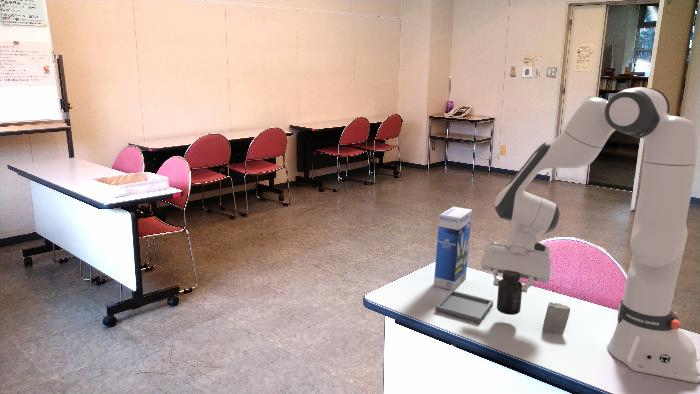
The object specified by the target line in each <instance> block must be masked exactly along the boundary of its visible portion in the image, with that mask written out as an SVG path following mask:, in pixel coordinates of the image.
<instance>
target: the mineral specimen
mask: <svg viewBox="0 0 700 394" xmlns="http://www.w3.org/2000/svg"><path fill="white" fill-rule="evenodd" d="M570 313H571V308H570V307H569V306H567V305H565V304H562V303H559V302H558V303H556V302H555V303H554V302H549V303H548V306H547V308H546V312H545V316H544V319H543V325H542V333H543V334H548V335H557V336H563V335H564V332H565V330H566V326H567V323H568V321H569V317H570Z"/></svg>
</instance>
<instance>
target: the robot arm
mask: <svg viewBox="0 0 700 394" xmlns="http://www.w3.org/2000/svg"><path fill="white" fill-rule="evenodd" d="M670 109H671V104H670V100H669V99H668V97H667V95H665V94H664V93H663V92H662V91H660V90H658V89H657V88H649V87H648V88H647V87H640V86H639V87H631V88H626V89H622V90H619V91H618V92H617V93H615V94H613V95H612V96H611V97H610V98H609V100H607V99H605V98H602V97H590V98H587V99H586V100H584V101H583V102H582V103H581V104H580V105H579V107H578V108H577V109H576V110H575V112H574V113H573V114H572V116H571V117H570V119H569V121H568V122H567V123H566V126H565V127H564V129H563V131H562V132H561V133H560V134H559V135H558V136H557V137H556V138H555V139H553V140H551V141H550V142H549V141H548V142H543V143H542V144H541V145H540V146H538V147H537V148H536V150H534V152H533V153H532V154H531V155H530V157H528V159H527V160H526V161H525V163H523V166H521V168H519V170H518V171H517V172H516V174H515V175H514V177H513V178H512V179H511V180H510V181H509V182H508V183H507V184H506V185H505V187H504V188H503V189H502V190H501V191H500V192H499V193H498V195H497V196H496V198H495V202H494V204H493V205H494V206H493V208H494V210H495V212H496V214H497V216H498V217H499V218H500V219H503V220H507V221H509V222H512V223H511V230H510V232H508V236H507V239H506V243H499V242H495V241H493V242H492V241H491V242H489V243H487V244H486V245H485V247H484V249H483V250H484V251H483V252H484V253H483V256H482V257H481V259H480V266H481V267H482V270H484V271H488V272H492V275H493V278H494V279H493V283H492V284H493V286H494V287H495V286H496V287H498V284H499V281H500V280H501V279H500V278H497V277H499V274H501V275H503V272H504V271H505V270H510V271H515V272H519V273H520V279H526V280H527V281H528V282H526V284H522V288H521V291H522V293H525V294H526V293H528V289H529V288H530V287H531V286H533V285H534V283H535V282H538V283H545V284H548V283H549V282H550V280H551V277H552V261H551V257H552V254H551V250H550V247H549V246H547V245H545V244H543V243H541V242H539V236H540V235H542V236H543V235H546V234H549V233H550V232H553V231H554V230H555V229H556V228H557V225H558V223H559V220H560V216H561V213H560V210H559V206H558V204H557V203H555V202H553V201H551V200H549V199H546V198H543V197H541V196H538V195H535V194H532V193H530V192H527V191H526V190H525V189H526V188H527V187H528V186H529V185H530V184H531V182H532V181H533V180H534V179H535V177H536V176H537V175H538V174H539V173H540V172H542V171H544V170H548V169H578V168H579V169H580V168H583V167H586V166H587V165H590V164H592V163H593V162H594V161H595V160H596V158H597V157H598V156H599V154H600V153H601V151H602V149H603V148H604V147H605V144H606V143H607V141H608V140H609V138H610V137H611V135H612V134H613V133H614V132H615V131H617V132H620V133H622V134H626V135H627V136H628V135H629V136H630V137H631V136H632V137H634V138H637V139H642V140H643V142H644V152H643V159H642V160H643V161H642V170H641V178H640V187H639V193H638V197H637V201H636V202H637V203H636V208H635V213H634V219H633V222H632V224H633V225H632V229H631V234H630V235H631V236H630V243H629V244H630V251H631V253H632V257H631V261H630V264H629V268H628V270H627V271H628V272H627V276H626V280H625V286H624V290H623V291H624V292H623V297H622V299H621V301H620V304H619V306H618V310H617V323H616V327H615V330H614V332H613V335H612V337H611V339H610V341H609V342H608V343H607V350H608V352H609V353H610V354H611V355H612V356H613V357H614V358H615V359H617V360H619V361H620V362H623V363H624V364H625V365H626V366H627V367H628V368H629V369H630V370H632V371H634V372H638V373H644V374H647V375H648V374H649V375H653V376H659V377H664V378H669V379H675V380H679V381H684V382H690V383H695V384H697V383H700V357H698V355H697V349H696V346H695V344H694V342H693V340H692V339H691V338H690V337H689V336H688V335H686V333H685V332H683V331H682V330H681V321H680V320H679V316H678V314H677V312H676V311H673V310H671V309H672V304H673V300H674V295H675V290H676V285H677V281H678V277H679V273H680V269H681V265H682V261H683V256H684V251H685V248H686V244H687V239H688V232H689V231H688V226H687V219H688V213H689V208H690V202H691V197H692V192H693V183H694V176H695V171H696V170H695V169H696V163H697V148H698V147H697V146H698V145H697V144H698V142H697V129H696V125H695V124H694V122H693V121H691V120H690V119H689V118H686V117H684V116H678V115H670V114H669V113H670Z"/></svg>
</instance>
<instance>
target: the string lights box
mask: <svg viewBox="0 0 700 394" xmlns="http://www.w3.org/2000/svg"><path fill="white" fill-rule="evenodd" d="M472 215H473V209H470V208H466V207H465V208H463V207H458V206H451V208H449V209H447V210H445V211H444V212H442V213H440V214H439V215H438V217H439V218H438V229H437V241H436V253H435V267H434V277H433V279H434V280H433V286H434V287H437V288H441V289H442V288H443V289H446V290H450V291H451V290H453V291H455V290H456V288H458V287H459V286H460V285H461V284H462V283H463V282H464V281H465V280H466V279H467V269H468V268H467V267H468V261H469V260H468V259H469V250H470V249H469V248H470V247H469V245H470V238H471V226H472V225H471V224H472Z"/></svg>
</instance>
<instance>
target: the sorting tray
mask: <svg viewBox="0 0 700 394" xmlns="http://www.w3.org/2000/svg"><path fill="white" fill-rule="evenodd" d="M493 306H494V300H492V299H488V298H484V297H481V296H476V295H472V294H468V293H464V292H460V291H458V290H457V291H456V290H450V291H449V292H448V293H446V295H445V296H444V297H443V298H442V299H441V300H440V301H439V302H438V303H437V304H436V305H435V313H438V314H439V313H440V314H443V315H446V316H450V317H454V318H457V319H461V320H465V321H468V322H473V323H475V324H479V325H480V324H481V323H482V322H483V320H484V319H485V317H486V316H487V314H488V313H489V312H490V310H492V308H493Z"/></svg>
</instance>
